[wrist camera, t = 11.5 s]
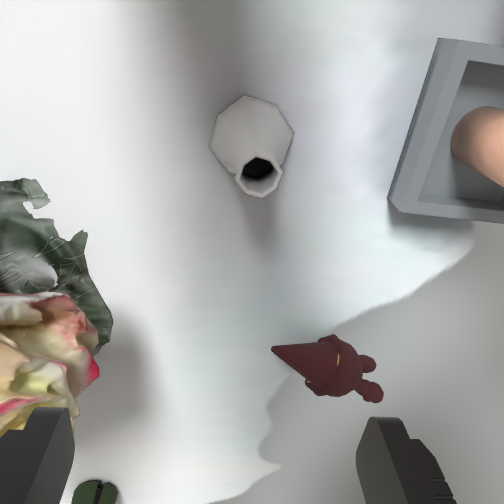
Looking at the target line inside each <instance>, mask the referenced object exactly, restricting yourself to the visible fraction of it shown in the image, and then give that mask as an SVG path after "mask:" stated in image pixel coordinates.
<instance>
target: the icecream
mask: <svg viewBox="0 0 504 504" xmlns="http://www.w3.org/2000/svg"><path fill="white" fill-rule="evenodd" d="M271 351H272V352H273V353H274V354H275V355H277V356H278V357H279V358H280V359H282V360H283V361H284V362H286V363H287V364H288V365H289V366H291V367H292V368H293V369H294V370H296V371H297V372H299V373H300V374H301V375H302V376H303V377H305V378H306V380H305V385H306V386H307V387H308V388H310V389H311V390H312V391H313V392H314V393H315V394H316V395H317V396H323V395H329V396H334V397H340V396H343V395H346V394H347V393H349V392H350V391H352V390H355V391H356V392H357V393H358V394H360V395H361V396H363V399H364V400H365V401H367V402H370V401H371V402H373V403H379V402H381V401H382V399H383V394H384V393H383V391H382V389H381V387H380V385H379V384H377V383H374V382H369V381H368V380H364V379H361V378H362V376H363V373H369V372H372V371H374V370H375V368H376V363H375V361H374V359H373V358H371V357H368V356H366V355H358V354H357V352H356V351H355V349H354V348H353V347H352V346H351V345H350V344H348V343H346V342H343V341H342V340H340V339H339V338H337V336H336V335H334V334H332V335H330V336H327V337H323V338H320V339H319V340H318V342H317V343H305V344H294V345H280V346H272V348H271Z"/></svg>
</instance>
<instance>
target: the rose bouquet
mask: <svg viewBox="0 0 504 504" xmlns="http://www.w3.org/2000/svg"><path fill="white" fill-rule="evenodd" d="M25 201H26V202H27V201H29V202H32V204H33V206H34V209H39V208H42V207H44V206H45V205H47V204H48V203H49V202H50V199H48V197H47V194H46V193H45V192H44V191H43V190H42V188H41V187H40V185H39V183H38V182H37V180H35V179H33V180H29V179H25V178H22V179H19V180H15V181H1V182H0V437H1V436H2V435H3V434H4V433H5V432H6V431H7V430H8V429H12V430H23V428H24V426H25V424H26V422H27V420H28V418H29V416H30V414H31V412H32V411H33V409H34V408H36V407H67V408H68V409H69V413H70V419H71V425H72V431H73V433H74V427H75V423H74V421H73V418H75V417H77V416H79V415H80V411H79V407H78V404H77V401H75V400H74V399H75V398H76V397H77V396H78V395H79V394H80V393H81V392H82V391H83V390H84V389H85V388H86V387H87V386H88V385H90V384H91V383H92V382H93V381H94V380H95V379H96V378H97V377H98V376H99V367H98V365H97V364H96V362H95V361H94V358H93V357H92V356H94V355H96V354H97V353H98V352H99V350H100V349H101V346H102V345H104V344H105V343H108V342H109V339H110V333H111V327H112V324H113V320H112V317H111V313H110V310H109V309H108V308H107V306H106V305H105V303H104V301H103V299H102V298H101V296H100V294H99V292H98V291H97V289H96V287H95V285H94V284H93V282H92V280H91V278H90V277H89V275H88V270H87V266H86V261H85V256H84V249H85V244H86V240H87V236H88V234H87V232H83V230H81V231H80V232H78V233H77V234H75V235H74V236H73V238H72V240H71V241H66V240H65V239H62V238H60V237H59V236H58V233H57V230H56V229H55V227H54V223H53V222H54V220H53V219H45V218H40V219H34V218H33V216H32V214H29V212H28V211H27V210H26V209H25V207H24V206H23V202H25ZM108 337H109V339H108Z"/></svg>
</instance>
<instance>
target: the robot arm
mask: <svg viewBox="0 0 504 504" xmlns="http://www.w3.org/2000/svg"><path fill="white" fill-rule="evenodd" d="M74 450H75V443H74V437H73V431H72V425H71V419H70V413H69V409H68V408H67V407H36V408H34V409H33V411H32V412H31V414H30V416H29V418H28V420H27V422H26V424H25V426H24V428H23V430H12V429H8V430H7V431H6V432H5V433H4V434H3V435H2V436H1V437H0V504H59V503H60V500H61V497H62V494H63V491H64V488H65V485H66V482H67V479H68V476H69V473H70V470H71V467H72V463H73V458H74ZM356 468H357V473H358V477H359V480H360V483H361V487H362V490H363V494H364V497H365V501H366V504H457V503H456V501H455V500H454V499H453V494H452V492H451V490H450V488H449V486H448V484H447V482H445V478H444V476H443V473H442V472H441V469H440V467H439V465H438V463H437V461H436V459H435V457H434V456H433V455H432V453H431V452H430V451H429V450H428V449H427V448H426V446H425V445H424V444H423V443H422V442H421V441H420V440H419V439H410V438H409V436H408V434H407V431H406V429H405V426H404V424H403V422H402V421H401V420H400V419H399V418H395V417H370V418H369V420H368V422H367V425H366V427H365V430H364V433H363V435H362V438H361V440H360V443H359V446H358V448H357V452H356Z"/></svg>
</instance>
